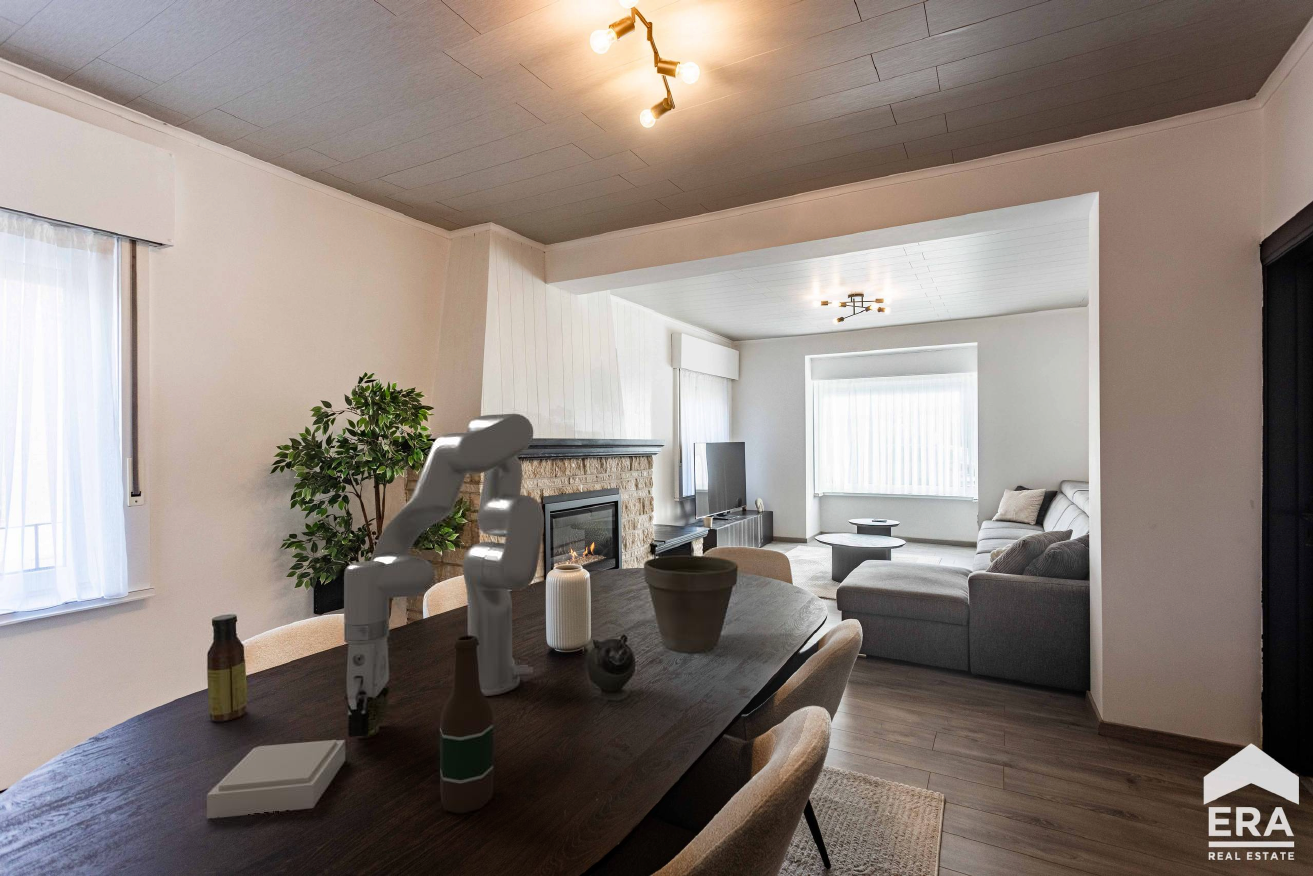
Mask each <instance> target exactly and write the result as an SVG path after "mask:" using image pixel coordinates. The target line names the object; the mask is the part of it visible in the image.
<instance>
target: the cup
mask: <svg viewBox="0 0 1313 876" xmlns="http://www.w3.org/2000/svg"><path fill="white" fill-rule="evenodd" d="M389 693H390V688H389V687H388V685H387V686H386V687H384V688H383V689H382V690H381V692H380V693H379V694H378V695H377V696H376V697H375V698H372V697H369V701H368V706H367V711H366V712H368V711H369V733H368V735H366V736H357V738H358V739H363V740H364V739H370V738H373V737H374V736H376V735H377V733H378V731H379V726H380V725H381V724H382V723H383V722H384V720H385V718H386V715H387V713H388V712H387V710H388V704H389V696H390V695H389ZM362 694H366V693H359V695H362ZM363 701H364V700H358V702H361V704H362V706H363ZM344 703H345V711H346V718H347V719H348V710H349V708H348V704H349V702H348V696H347V692H346V693H345V695H344Z"/></svg>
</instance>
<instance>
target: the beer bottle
mask: <svg viewBox="0 0 1313 876" xmlns="http://www.w3.org/2000/svg"><path fill="white" fill-rule="evenodd" d="M478 645H479V642H478V639H477V637H476V636H470V635H468V634H467V635H462V636H458V637H457V638H454V640H453V644H452V646H453V648H454V661H453V663H454V665H453V666H454V667H453V669H454V670H453V679H452V680H453V682H452V688H451V693H450V694H449V696H448V697H447V699H446V700H445V702H444V704H443V707H442V709H441V713H440V720H439V721H440V722H439V782H440V783H439V786H440V788H439V790H440V801H441V803H442V806H443V809H444V811H446V812H450V813H453V814H454V813H455V814H461V815H462V814H467V813H469V812H473V811H477V810H480V809H482V808H483V807H484V806H486V804H487V803H488V802H490V801H491V799H492V798H493V796H494V721H493V720H494V718H493V711H492V708H491V706H490V702H489V700H488V699H487V696H485V695H484V694H483V693H482V691H481V688H480V683H479V671H478V656H477V646H478Z"/></svg>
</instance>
